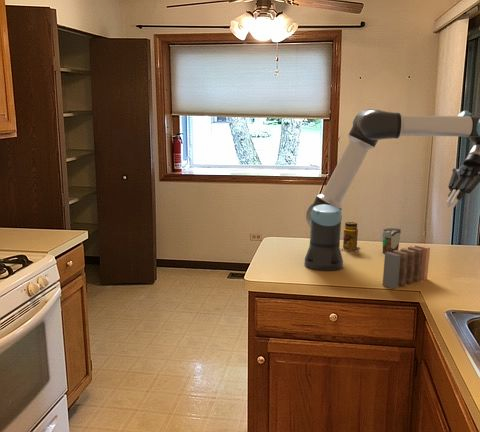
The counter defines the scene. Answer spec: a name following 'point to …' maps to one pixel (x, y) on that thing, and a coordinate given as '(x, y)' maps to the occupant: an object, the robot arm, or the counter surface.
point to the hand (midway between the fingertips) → (450, 204)
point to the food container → (390, 239)
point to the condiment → (350, 237)
